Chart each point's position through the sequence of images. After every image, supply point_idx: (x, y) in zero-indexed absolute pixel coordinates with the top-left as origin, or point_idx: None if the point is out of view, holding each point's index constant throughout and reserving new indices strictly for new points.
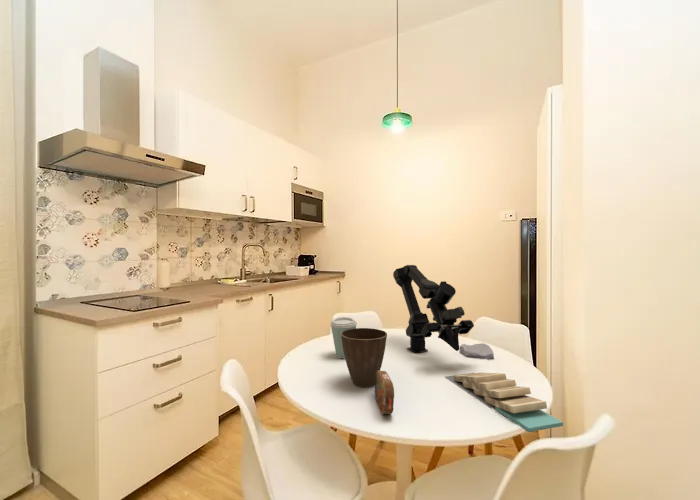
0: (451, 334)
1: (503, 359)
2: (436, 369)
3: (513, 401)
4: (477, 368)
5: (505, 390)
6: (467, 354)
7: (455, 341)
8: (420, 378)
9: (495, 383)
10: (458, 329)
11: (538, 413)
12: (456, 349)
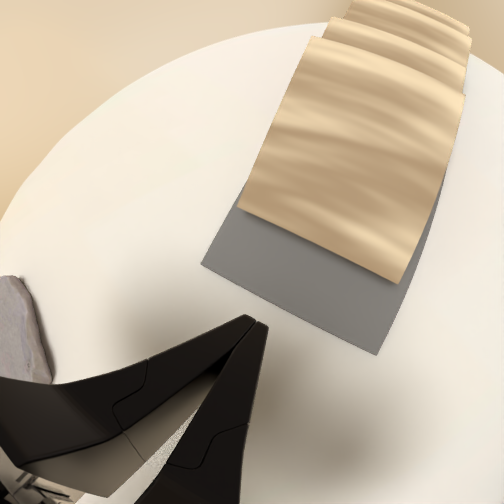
0: (167, 477)
1: (13, 250)
2: (286, 442)
3: None
4: (125, 285)
5: (443, 25)
6: (43, 368)
7: (193, 384)
8: (449, 421)
9: (424, 49)
10: (1, 390)
11: None
12: (266, 337)
